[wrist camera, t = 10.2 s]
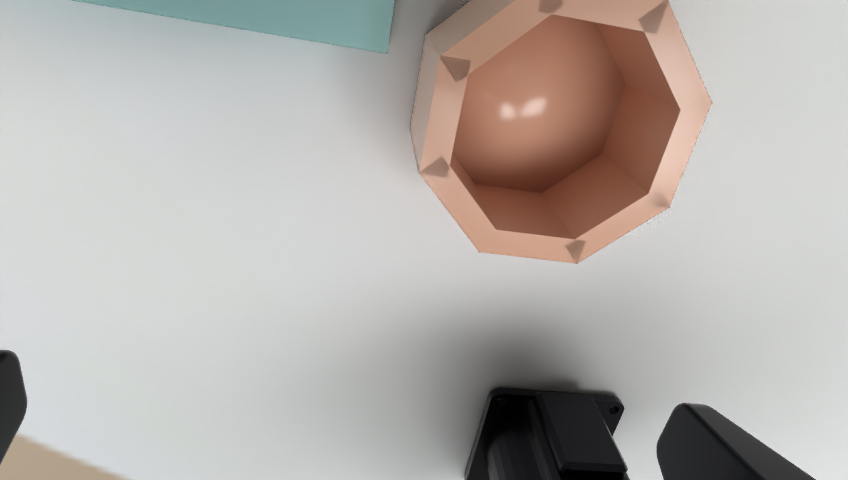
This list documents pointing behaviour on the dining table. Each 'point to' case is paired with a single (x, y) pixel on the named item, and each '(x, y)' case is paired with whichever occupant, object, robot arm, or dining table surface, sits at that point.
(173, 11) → the board
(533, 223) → the pink octagonal bowl
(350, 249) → the dining table surface
